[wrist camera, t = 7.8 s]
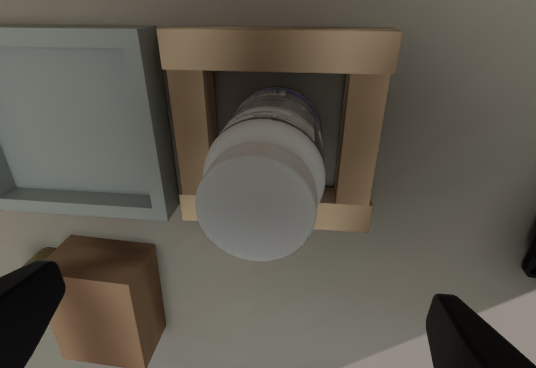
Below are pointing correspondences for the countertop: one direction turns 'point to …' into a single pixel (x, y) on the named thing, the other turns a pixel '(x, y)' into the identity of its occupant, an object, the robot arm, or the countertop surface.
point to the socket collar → (284, 60)
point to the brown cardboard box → (108, 301)
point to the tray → (84, 122)
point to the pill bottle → (264, 177)
